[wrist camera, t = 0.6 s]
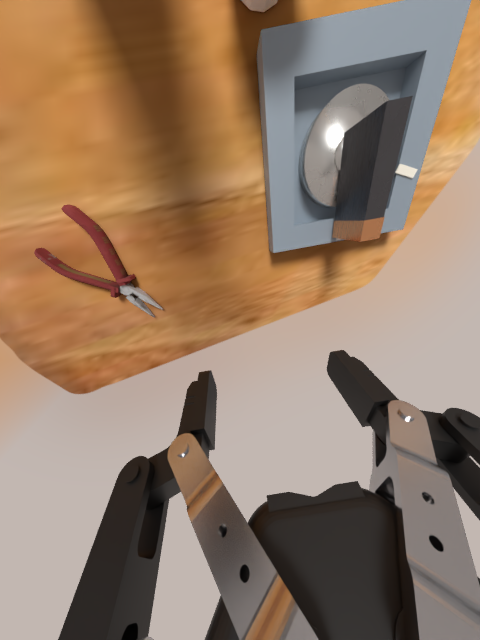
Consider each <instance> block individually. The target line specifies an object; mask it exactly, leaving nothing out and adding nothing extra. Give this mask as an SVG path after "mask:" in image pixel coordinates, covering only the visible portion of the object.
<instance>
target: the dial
mask: <svg viewBox="0 0 480 640" xmlns="http://www.w3.org/2000/svg"><path fill="white" fill-rule="evenodd" d="M412 97H413V96H409V97H404V98H399V99H393V100H389V98H388V97H387V95H386V94H385V93H384V92H383V91H382V90H381V89H380V88H378V87H377V86H374V85H371V84H356V85H353V86H350V87H348V88H346V89H344V90H343V91H341V92H340V93H338V94H337V95H336V96H335V97H334V98H333V99H331V101H330V102H329V103H328V104H327V105H326V106H325V107H324V109H323V110H322V111H321V112H320V113H319V114H318V115H317V117H316V118H315V119H314V121H313V122H312V124H311V126H310V127H309V129H308V131H307V133H306V136H305V138H304V141H303V144H302V147H301V151H300V157H299V177H300V182H301V185H302V188H303V190H304V192H305V194H306V196H307V197H308V198H309V199H310V200H311V201H312V202H313V203H315V204H316V205H319V206H321V207H329V208H330V207H336V212H335V221H334V226H333V235H332V238H339V239H345V240H352V241H359V242H362V241H367V240H373V239H378V238H380V234H381V230H382V226H383V222H384V218H385V217H384V215H385V210H386V206H387V202H388V198H389V194H390V189H391V185H392V181H393V177H394V173H395V168H396V164H397V160H398V156H399V152H400V147H401V143H402V139H403V135H404V130H405V126H406V122H407V118H408V114H409V109H410V105H411V101H412Z"/></svg>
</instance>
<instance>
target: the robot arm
mask: <svg viewBox="0 0 480 640" xmlns="http://www.w3.org/2000/svg"><path fill="white" fill-rule="evenodd" d="M327 372H328V375H329V377H330V378H331V380H332V381H333V383H334V384H335V386H336V388H337V389H338V391H339V392H340V393H341V395H342V397H343V398H344V399H345V401H346V402H347V404H348V406H349V407H350V409H351V410H352V411H353V413H354V415H355V416H356V417H357V419H358V421H359V422H360V424H361V425H362V427H365V426H371V427H372V429H373V430H374V431H373V469H372V475H371V479H370V489H369V490H366V489H363V488H361V487H360V485H359V483H358V481H355V482H349V483H343V484H337V485H334V486H332V487H331V488H329V489H327V490H326V491H324V492H323V493H321V494H319V495H318V496H316V497H311V496H306V495H302V494H297V493H292V492H286V493H279V494H273V495H267V502H265V503H263V504H262V505H261V506H260V507H259V508H258V509H257V510H256V511H255V512H254V513H253V515H252V516H251V518H250V519H249V522H248V523H247V522H246V520H245V518H244V517H243V515H242V514H241V512H240V510H239V509H238V507H237V505H236V504H235V502H234V501H233V499H232V497H231V495H230V494H229V493H228V491H227V489H226V487H225V486H224V484H223V482H222V481H221V479H220V478H219V476H218V474H217V473H216V472H215V470H214V468H213V467H212V465H211V463H210V461H209V450H214V449H215V425H216V424H215V423H216V400H217V389H216V384H215V381H214V378H213V375H212V372H211V371H204V372H199V376H198V381H194V382H192V383H191V385H190V386H189V388H188V389H187V394H186V399H185V405H184V408H183V413H182V418H181V422H180V427H179V431H178V435H177V437H176V439H174V441H173V442H172V443H171V445H170V446H169V447H168V448H167V449H165V450H164V451H162V452H160V453H158V454H156V455H154V456H153V457H150V458H149V459H147V458H146V457H144V456H138V457H136V458H134V459H132V460H131V461H130V462H128V463H127V464H126V465H125V466H124V468H123V469H122V470H121V472H120V474H119V476H118V478H117V481H116V483H115V486H114V489H113V492H112V494H111V497H110V500H109V503H108V505H107V508H106V511H105V513H104V516H103V519H102V521H101V524H100V527H99V530H98V532H97V535H96V538H95V541H94V544H93V546H92V549H91V552H90V554H89V557H88V560H87V563H86V565H85V568H84V571H83V573H82V576H81V579H80V582H79V584H78V587H77V590H76V593H75V595H74V598H73V601H72V603H71V606H70V609H69V612H68V614H67V617H66V620H65V623H64V625H63V628H62V631H61V634H60V637H59V639H58V640H154V639H152V638H151V637H148V633H149V627H150V620H151V613H152V607H153V600H154V594H155V588H156V581H157V574H158V568H159V562H160V554H161V548H162V542H163V535H164V529H165V522H166V516H167V509H168V503H169V498H171V497H173V496H174V495H176V494H178V493H179V492H182V494H183V496H184V499H185V502H186V504H187V512H188V515H189V518H190V521H191V523H192V526H193V528H194V530H195V533H196V535H197V538H198V540H199V543H200V545H201V547H202V550H203V552H204V555H205V557H206V559H207V562H208V564H209V567H210V569H211V572H212V574H213V577H214V579H215V581H216V584H217V586H218V589H219V591H220V594H221V596H220V599H219V602H218V605H217V608H216V610H215V613H214V616H213V618H212V621H211V624H210V627H209V630H208V632H207V635H206V638H205V640H480V579H479V578H478V577H477V574H476V570H475V567H474V563H473V559H472V556H471V552H470V549H469V545H468V541H467V537H466V534H465V530H464V526H463V523H462V519H461V515H460V512H459V508H458V505H457V501H456V497H455V494H454V490H453V488H454V489H455V490H456V492H457V493H458V494H459V495H460V497H461V498H462V499H463V500H464V502H465V503H466V504H467V505H468V506H469V508H470V509H471V510H472V511H473V513H474V514H475V515H476V516H477V518H478V519H479V520H480V468H479V467H478V466H477V465H476V464H475V463H474V461H473V460H472V459H471V458H469V456H472V457H473V458H474V460H475V461H476V462H477V463H478V464H479V465H480V418H479V417H478V416H476V415H474V414H472V413H470V412H468V411H465V410H462V409H458V408H449V409H447V410H446V411H445V412H444V413H443V414H441V413H434V412H428V411H421V410H419V409H418V408H416V407H415V406H413V405H411V404H409V403H407V402H404V401H400V400H399V399H397V398H396V397H395V396H394V395H393V393H391V391H390V390H389V389H388V388H387V387H386V386H385V385H384V384H383V383H382V382H381V381H380V380H379V379H378V378H377V377H376V376H374V374H373V373H372V372H371V371H370V370H369V368H368V367H367V366H366V365H365V364H364V363H363V362H361V361H360V360H358V359H356V358H355V357H350V356H349V355H348V354H347V353H346V352H345V351H344V350H340V351H333V352H330V355H329V360H328V365H327Z"/></svg>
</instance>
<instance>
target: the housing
mask: <svg viewBox="0 0 480 640" xmlns="http://www.w3.org/2000/svg"><path fill="white" fill-rule="evenodd" d="M470 3H471V0H404V1H399V2H394V3H389V4H384V5H379V6H374V7H369V8H365V9H360V10H355V11H350V12H345V13H340V14H335V15H330V16H325V17H321V18H316V19H311V20H306V21H301V22H296V23H291V24H286V25H281V26H277V27H272V28H267V29H262V30H261V33H260V38H259V44H258V49H257V54H256V55H257V70H258V85H259V100H260V115H261V130H262V145H263V161H264V176H265V191H266V206H267V221H268V236H269V250H270V251H271V252H273V253H277V252H282V251H287V250H293V249H298V248H304V247H309V246H315V245H320V244H326V243H331V242H336V241H342V240H345V239H339V238H332V235H333V226H334V221H335V212H336V207H330V208H329V207H321V206H319V205H316V204H315V203H313V202H312V201H311V200H310V199H309V198H308V197H307V196H306V194H305V192H304V190H303V188H302V185H301V182H300V177H299V157H300V151H301V147H302V144H303V141H304V138H305V136H306V133H307V131H308V129H309V127H310V126H311V124H312V122H313V121H314V119H315V118H316V117H317V115H318V114H319V113H320V112H321V111H322V110H323V109H324V107H325V106H326V105H327V104H328V103H329V102H330V101H331V99H333V98H334V97H335V96H336V95H337V94H338V93H340V92H341V91H343V90H344V89H346V88H348V87H350V86H353V85H356V84H371V85H374V86H377V87H378V88H380V89H381V90H382V91H383V92H384V93H385V94H386V95H387V97H388V98H389V100H393V99H399V98H404V97H409V96H413V97H412V101H411V105H410V109H409V114H408V118H407V122H406V126H405V130H404V135H403V139H402V143H401V147H400V152H399V156H398V160H397V164H396V168H395V173H394V177H393V181H392V185H391V189H390V194H389V198H388V202H387V206H386V210H385V215H384V217H385V218H384V222H383V226H382V230H381V233H385V232H391V231H396V230H402V229H403V228H404V225H405V221H406V218H407V215H408V211H409V208H410V204H411V201H412V198H413V194H414V191H415V188H416V184H417V181H418V178H419V174H420V171H421V167H422V164H423V161H424V157H425V154H426V151H427V147H428V144H429V141H430V137H431V134H432V130H433V127H434V124H435V120H436V117H437V114H438V110H439V107H440V104H441V100H442V97H443V93H444V90H445V87H446V83H447V80H448V77H449V73H450V70H451V66H452V63H453V60H454V56H455V53H456V50H457V46H458V43H459V40H460V36H461V33H462V29H463V26H464V23H465V19H466V16H467V13H468V9H469V6H470Z"/></svg>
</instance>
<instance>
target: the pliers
mask: <svg viewBox="0 0 480 640" xmlns="http://www.w3.org/2000/svg"><path fill="white" fill-rule="evenodd" d="M62 210H63V212H64V213H65V214H66V215H68V216H69V217H70V218H71V219H73V220H74V221H75V222H76V223H78V224H79V225H80V226H81V227H82V228H84V229H85V230H86V231H87V233H88V234H89V235H90V236H91V237H92V239H93V240H94V242H95V243H96V245H97V247H98V249H99V250H100V252H101V254H102V256H103V258H104V259H105V261H106V263H107V265H108V266H109V268H110V270H111V272H112V273H113V275H114V277H115V279H116V281H117V282H114V281H111V280H107V279H104V278H100V277H97V276H94V275H90V274H87V273H84V272H80V271H78V270H75V269H73V268H71V267H69V266H67V265H66V264H64V263H63V262H62V261H60V260H59V259H58V258H56V257H55V256H54V255H52V254H51V253H50V252H48V251H47V250H46V249H44V248H38V249H36V250H35V252H34V253H35V255H36V257H37V258H38V259H40V260H41V261H42V262H44V263H45V264H46V265H48V266H49V267H51V268H52V269H53V270H55V271H56V272H57V273H59V274H61V275H63V276H65V277H68V278H70V279H73V280H77V281H80V282H84V283H87V284H91V285H94V286H98V287H101V288H105V289H108V290H111V297H115V298H116V297H118V296H119V295H120V293H122V294H124V295H128V296H127V297H126V298H127V299H128V300H129V301H130V302H131V303H133V304H134V305H136V306H137V307H139V308H140V309H142V310H143V311H145V312H146V313H148V314H149V315H151V316H153V317H155V316H154V315H153V313H152V312H151V311H150V310H149V309H148V307H147V306H146V305H145V304H144V302H143V301H145V302H147V303H149V304H151V305H153V306H155V307H157V308H160V309H162V310H163V308H162V307H161V306H160V305H159V304H157V303H156V302H155V301H154V300H153V299H152V298H151V297H150V296H149V295H148V294H147V293H145V292H144V291H143V290H141V289H140V288H138V287H136V288H135V287H134V285H133V284H132V283H131V280H133V279H135V278H136V277H135V275H134V274H133V275H127V273H126V271H125V269H124V267H123V266H122V264H121V262H120V260H119V258H118V256H117V254H116V252H115V250H114V248H113V246H112V244H111V243H110V241H109V239H108V237H107V236H106V234H105V233H104V232H103V230H102V229H101V228H100V227H99V225H98V224H96V223H95V222H94V221H93V220H92V219H90V218H89V217H88V216H87V215H86V214H84V213H83V212H82V211H81V210H80V209H78V208H77V207H75V206H72V205H64V206H63V207H62ZM133 294H135V295H136V296H138V298H136V297H134V296H133ZM142 300H143V301H142Z"/></svg>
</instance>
